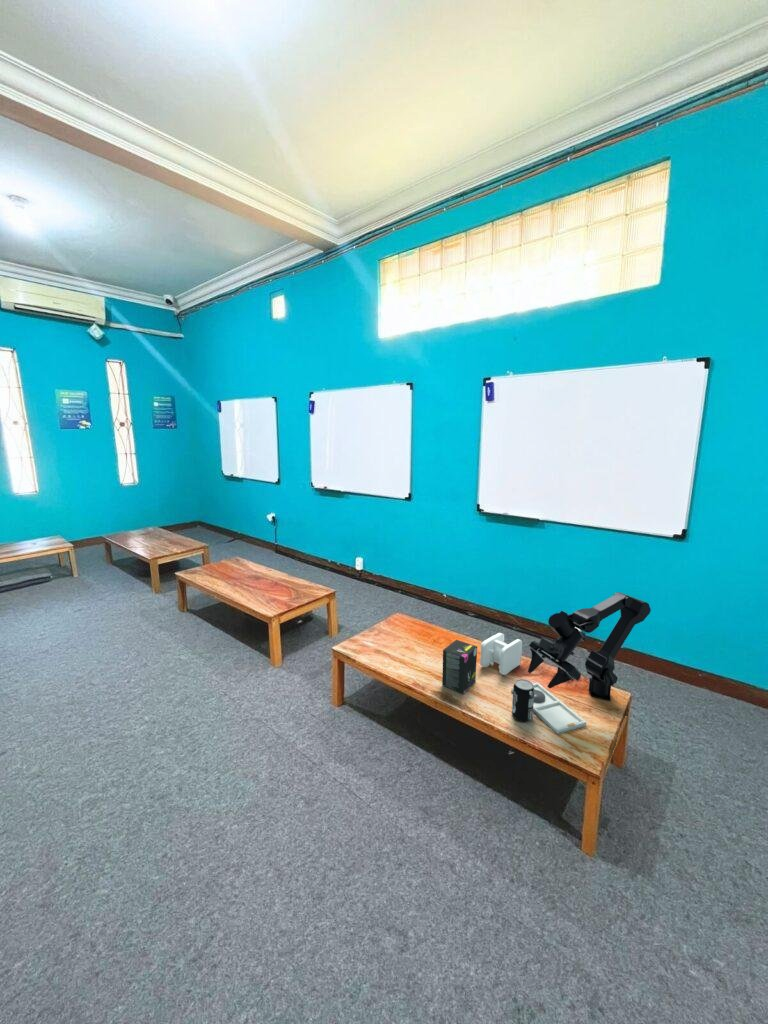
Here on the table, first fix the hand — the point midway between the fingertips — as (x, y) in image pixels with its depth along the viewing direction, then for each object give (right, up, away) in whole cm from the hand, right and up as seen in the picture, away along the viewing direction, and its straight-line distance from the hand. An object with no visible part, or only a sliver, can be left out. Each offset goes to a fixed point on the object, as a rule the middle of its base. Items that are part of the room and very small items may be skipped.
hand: (538, 679), depth 133 cm
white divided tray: (+5, -12, +4) cm, 13 cm away
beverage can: (-5, -13, 0) cm, 14 cm away
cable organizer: (-4, -8, +30) cm, 32 cm away
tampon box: (-23, -9, +19) cm, 31 cm away
